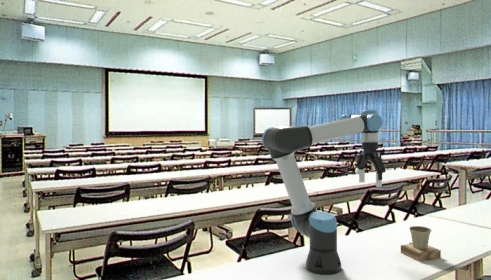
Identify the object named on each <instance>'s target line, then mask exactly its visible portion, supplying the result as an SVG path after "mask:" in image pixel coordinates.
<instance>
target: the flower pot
mask: <svg viewBox="0 0 491 280" xmlns="http://www.w3.org/2000/svg"><path fill="white" fill-rule="evenodd" d="M408 229H409V231H410V235H411V243H413V247H415V248H417V249H427V247H428V245H429V239H430V235H431V232H432V229H431V228H429V227H427V226H420V225H418V226H417V225H413V226H409V228H408Z"/></svg>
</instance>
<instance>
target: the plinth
mask: <svg viewBox="0 0 491 280" xmlns="http://www.w3.org/2000/svg"><path fill="white" fill-rule="evenodd" d="M400 253H401V254H403V255H405V256H407V257H409V258H411V259H413V260H415V261H417V262H425V261H430V260H436V259H437V260H438V259H441V257H442V256H441V255H442V254H441V249H438V248H436V247H433V246H431V245H429V244H428V247H427V249H417V248H415V247H413V244H409V243H408V244H400Z"/></svg>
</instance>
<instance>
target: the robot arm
mask: <svg viewBox="0 0 491 280" xmlns="http://www.w3.org/2000/svg"><path fill="white" fill-rule="evenodd" d="M382 126H383V118H382V117H381V115H380V114H379V113H378V110H377V109H363V110H362V111H361V113H357V114H353V113H352V114H342V115H341V116H340V117H339V120H334V121H329V122H324V123H319V124H315V125H311V126H308V125H307V124H303V125H296V126H295V125H294V126H292V125H279V124H275V125H271V126H268V127H267V128H266V129H265V130H264V131H263V134H262V137H261V142H262V146H263V147H264V148H265V149H266V150H268V152H269V155H270V158H271V159H272V160H274V161H275V162H276V165H277V168H278V170H279V171H278V172H279V173H280V176H281V179H282V181H283V184H284V187H285V190H286V193H287V195H288V198H289V201H290V203H291V210H290V213H291V217H290V219H291V220H290V221H291V224H292V227H293V228H294V229H295V230H296V231H297V232H298V233H300V234H302V235H304V236H305V237H306V238H308V239H309V251H308V254H307V256H306V261H305V268H306V270H307V271H309V272H311V273H313V274H319V275H333V274H337V273H340V272H341V270H342V262H341V259H340V255H339V252H338V236H337V235H338V223H337V217H336V216H335V215H334V214H332V213H330V212H325V211H322V210H321V211H319V210H318V209H317V207H316V205H315V202H313V201H311V200H310V196H309V194H308V191H307V189H306V185H305V182H304V179H303V177H302V175H301V172H300V168H299V165H298V163H297V160H296V158H295V157H296V156H295V153H296V152H297V151H300V150H303V149H308V148H311V147H312V146H313V145H314V144H318V143H323V142H326V141H333V140H335V139H340V138H344V137H348V136H349V137H350V136H352V135H356V134H361V141H362V142H361V150H359V155H358V158H357V161H356V165H355V167H356V168H357V169H358V175H359V176H358V178H359V179H358V181H359V182H358V183H365V182H366V179H365V176H366V175H365V174H366V173H365V171H366V170H365V166H366V165H367V164H368V162H369V161H370V163H372V164H373V166H374V169H375V170H376V172H375V188H380V187H381V188H382V187H383V185H382V184H383V173H386V168H385V164H384V160H383V158H382V153H381V152H380V151H377V150H378V149H379V142H378V141H379V134H378V133H379V130H380V129H381V128H382Z"/></svg>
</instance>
